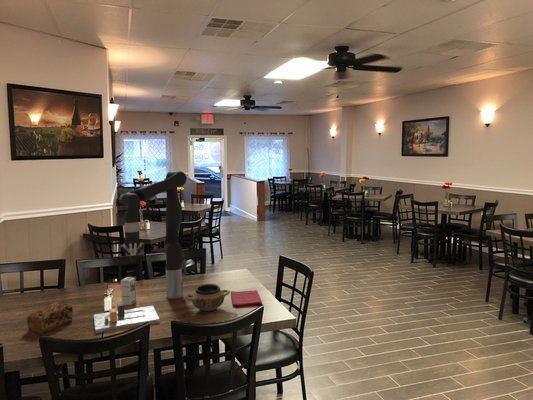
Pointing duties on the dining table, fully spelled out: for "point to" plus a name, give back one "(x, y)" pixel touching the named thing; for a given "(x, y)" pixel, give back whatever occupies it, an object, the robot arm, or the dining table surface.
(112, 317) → the fader knob
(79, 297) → the dining table surface
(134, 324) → the console panel
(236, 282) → the dining table surface
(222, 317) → the dining table surface
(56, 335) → the dining table surface
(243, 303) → the dish towel
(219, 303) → the ceramic bowl
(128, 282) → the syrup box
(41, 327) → the bread
